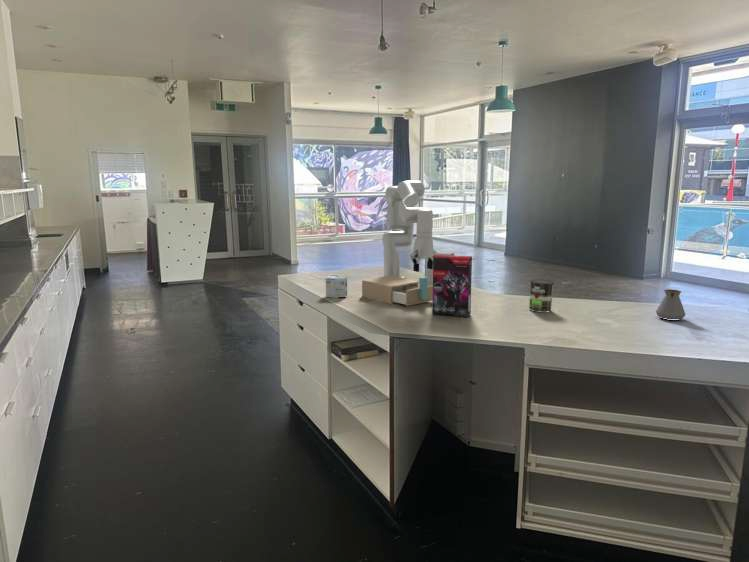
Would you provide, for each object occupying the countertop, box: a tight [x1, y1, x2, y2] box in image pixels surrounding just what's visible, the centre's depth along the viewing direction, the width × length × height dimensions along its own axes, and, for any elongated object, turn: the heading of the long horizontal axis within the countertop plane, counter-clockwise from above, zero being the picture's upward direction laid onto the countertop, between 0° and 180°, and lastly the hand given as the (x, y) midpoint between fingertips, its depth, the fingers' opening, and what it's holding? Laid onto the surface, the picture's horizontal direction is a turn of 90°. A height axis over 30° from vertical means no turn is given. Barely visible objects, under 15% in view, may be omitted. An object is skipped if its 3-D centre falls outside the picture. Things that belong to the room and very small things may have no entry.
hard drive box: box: [424, 251, 455, 286], centre depth 297 cm, size 16×8×20 cm, turn 58°
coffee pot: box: [655, 288, 686, 320], centre depth 224 cm, size 21×12×15 cm, turn 149°
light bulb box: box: [325, 275, 348, 298], centre depth 272 cm, size 11×7×11 cm, turn 84°
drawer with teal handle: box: [392, 276, 433, 307], centre depth 260 cm, size 19×24×13 cm
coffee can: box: [528, 278, 554, 312], centre depth 243 cm, size 10×10×14 cm
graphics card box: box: [431, 254, 473, 318], centre depth 234 cm, size 17×7×27 cm, turn 70°
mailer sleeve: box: [361, 275, 419, 305], centre depth 270 cm, size 20×22×9 cm
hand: (423, 270), depth 251 cm, fingers open, 9 cm apart
